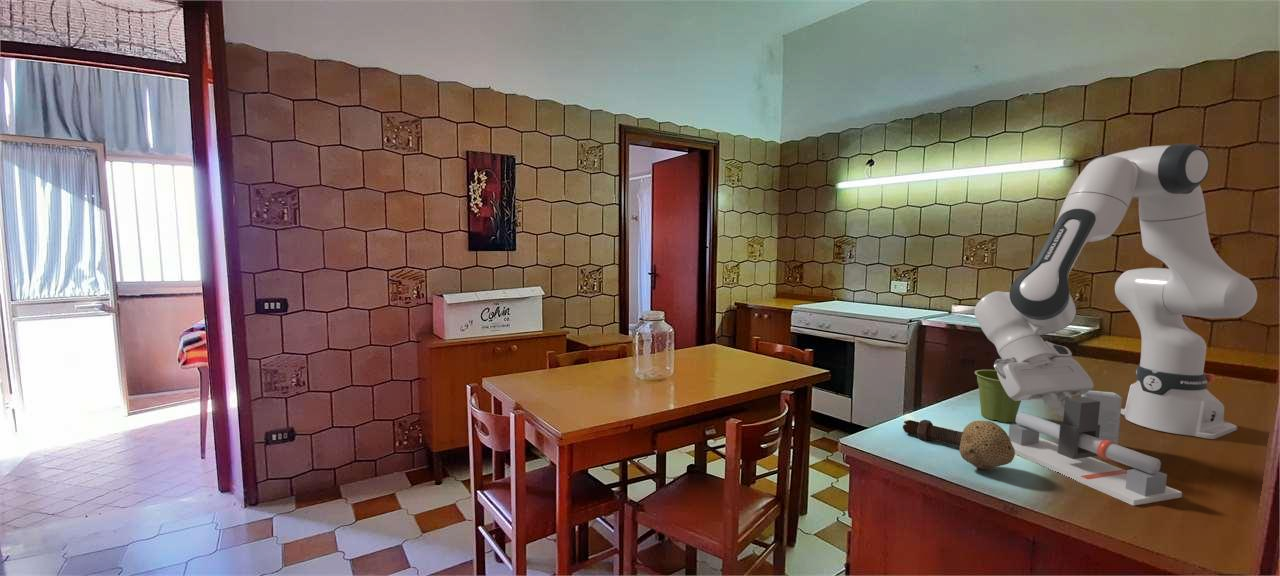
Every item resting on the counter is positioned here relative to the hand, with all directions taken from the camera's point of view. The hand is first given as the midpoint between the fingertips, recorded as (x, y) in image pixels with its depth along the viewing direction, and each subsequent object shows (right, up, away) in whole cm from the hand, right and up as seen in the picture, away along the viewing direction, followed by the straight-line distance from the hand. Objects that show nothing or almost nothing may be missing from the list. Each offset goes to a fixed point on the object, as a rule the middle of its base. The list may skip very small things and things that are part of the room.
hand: (1069, 415), depth 107 cm
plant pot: (+4, -8, +28) cm, 29 cm away
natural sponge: (-19, -11, -2) cm, 22 cm away
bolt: (-20, -10, +12) cm, 25 cm away
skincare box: (+15, -10, +11) cm, 21 cm away
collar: (0, -8, -1) cm, 8 cm away
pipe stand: (+1, -11, -1) cm, 11 cm away
